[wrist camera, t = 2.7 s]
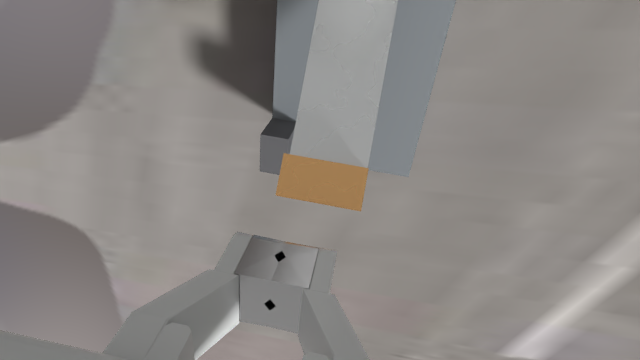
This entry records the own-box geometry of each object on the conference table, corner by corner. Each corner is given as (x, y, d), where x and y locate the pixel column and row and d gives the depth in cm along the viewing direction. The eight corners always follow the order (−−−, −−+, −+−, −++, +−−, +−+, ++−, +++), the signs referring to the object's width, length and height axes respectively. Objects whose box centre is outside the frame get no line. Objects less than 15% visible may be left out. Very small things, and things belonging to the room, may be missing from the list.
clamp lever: (415, -100, 21) (424, -142, 18) (359, 210, 20) (360, 211, 17) (342, -108, 21) (341, -151, 19) (285, 196, 20) (275, 195, 18)
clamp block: (478, -140, 24) (515, -179, 17) (406, 143, 35) (409, 198, 27) (307, -158, 25) (268, -202, 18) (288, 123, 36) (259, 171, 28)
